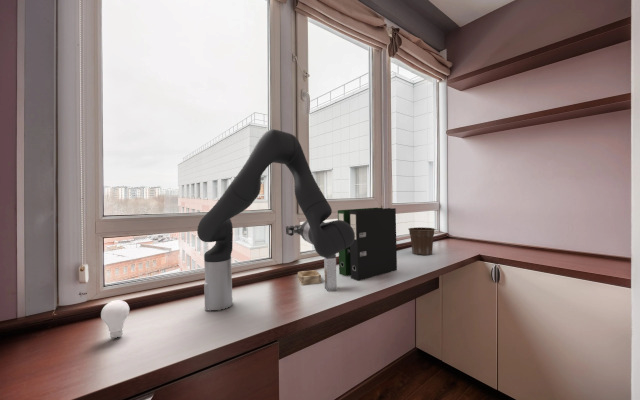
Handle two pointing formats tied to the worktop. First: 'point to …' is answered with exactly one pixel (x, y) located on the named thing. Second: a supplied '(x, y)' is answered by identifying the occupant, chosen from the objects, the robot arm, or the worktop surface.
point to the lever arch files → (369, 243)
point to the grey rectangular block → (330, 273)
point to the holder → (309, 277)
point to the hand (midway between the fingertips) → (302, 227)
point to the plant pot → (422, 240)
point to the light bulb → (115, 316)
